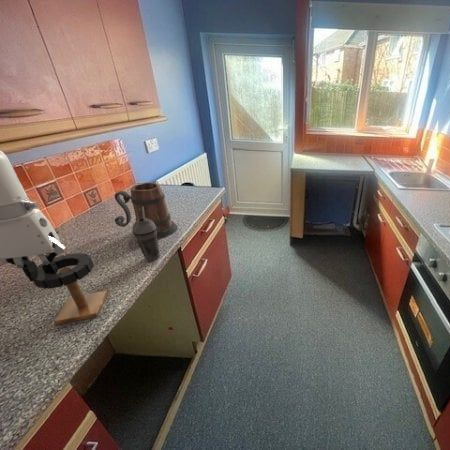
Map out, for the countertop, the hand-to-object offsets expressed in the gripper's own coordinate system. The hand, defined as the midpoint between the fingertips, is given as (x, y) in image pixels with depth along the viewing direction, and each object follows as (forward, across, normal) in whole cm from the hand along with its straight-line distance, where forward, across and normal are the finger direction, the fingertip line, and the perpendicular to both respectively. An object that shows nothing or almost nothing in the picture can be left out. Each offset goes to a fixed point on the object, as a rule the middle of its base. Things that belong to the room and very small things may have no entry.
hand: (44, 275), depth 62 cm
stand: (+12, -4, 0) cm, 13 cm away
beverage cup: (+13, -18, -21) cm, 31 cm away
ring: (0, -4, 0) cm, 4 cm away
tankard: (+13, -14, -44) cm, 47 cm away
